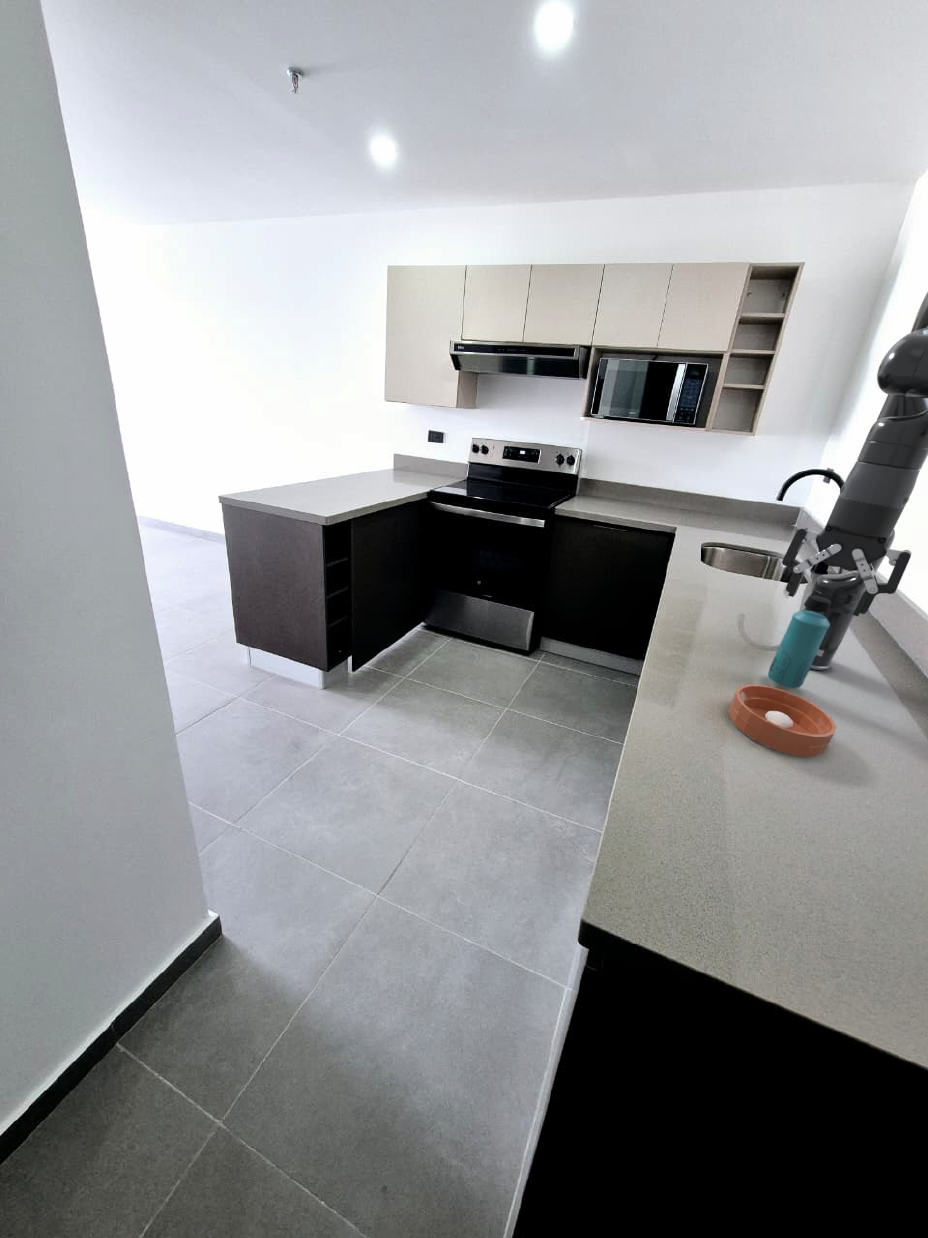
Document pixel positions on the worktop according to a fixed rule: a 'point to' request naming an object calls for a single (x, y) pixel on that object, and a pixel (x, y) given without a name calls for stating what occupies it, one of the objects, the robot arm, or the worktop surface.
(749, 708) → the bowl
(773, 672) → the beverage bottle
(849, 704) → the worktop surface
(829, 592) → the robot arm
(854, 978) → the worktop surface
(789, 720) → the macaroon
